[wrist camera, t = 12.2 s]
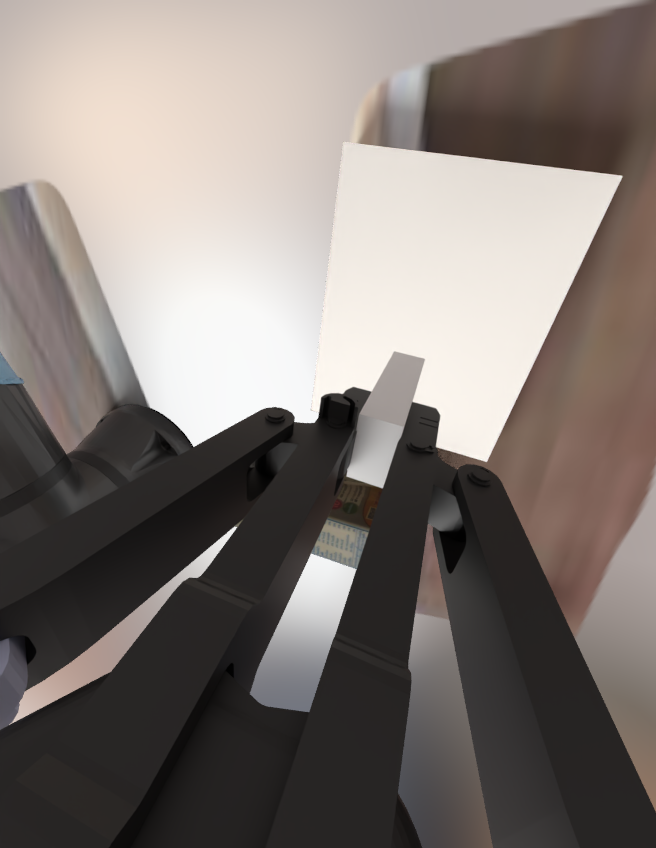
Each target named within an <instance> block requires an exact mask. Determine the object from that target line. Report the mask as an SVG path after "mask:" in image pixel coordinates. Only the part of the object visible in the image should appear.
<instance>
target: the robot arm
mask: <svg viewBox="0 0 656 848" xmlns="http://www.w3.org/2000/svg"><path fill="white" fill-rule="evenodd" d="M424 361H425V359H424V358H420V357H416V356H412V355H407V354H403V353H399V352H395V351H394V352H393V354H392V356H391V358H390V360H389V361H388V363H387V365H386V367H385V369H384V370H383V372H382V374H381V376H380V378H379V379H378V381H377V383H376V385H375V387H374V388H373V390H372V392H371V391H367V390H364V389H360V388H356V387H352V388H350V389H347V390H345V392H344V393H343V394H340V393H329V394H325V395H324V396H322V397H321V402H320V410H319V417H318V419H317V420H316V422H315V423H297V422H294V416H293V414H292V413H291V412H289V411H288V410H285V409H282V408H277V407H273V408H266V409H263V410H260V411H259V412H257V413H255V414H253V415H251V416H250V417H248V418H246V419H244V420H242V421H241V422H239V423H237V424H235V425H233V426H231V427H229V428H228V429H226V430H224V431H222V432H220V433H219V434H217V435H215V436H213V437H211V438H210V439H208V440H206V441H204V442H202V443H201V444H199V445H197V446H195V447H193V445H192V444H191V442H190V440H189V439H188V438H187V436H186V435H185V434H184V433H183V431H182V430H181V429H180V428H179V427H178V426H177V425H176V424H175V423H174V422H172V421H171V420H170V419H169V418H167V417H166V416H165V415H163V414H161V413H160V412H158V411H156V410H154V409H152V408H150V409H149V408H146V407H143V406H139V405H124V406H120V407H118V408H116V409H115V410H113V411H111V412H109V413H107V414H106V415H105V416H103V417H102V418H101V420H100V421H99V422H98V423H97V425H96V428H95V429H94V430H93V431H92V432H91V433H90V434H89V435H88V436H87V437H86V438H85V439H84V440H83V441H82V442H81V443H80V444H79V445H78V446H77V448H76V449H75V450H73V451H71V452H70V453H68V454H67V455H66V453H65V451H64V450H63V448H62V447H61V445H60V444H59V442H58V441H57V439H56V437H55V436H54V434H53V433H52V431H51V429H50V428H49V426H48V425H47V423H46V421H45V420H44V418H43V417H42V415H41V413H40V412H39V410H38V408H37V407H36V405H35V404H34V402H33V400H32V399H31V397H30V396H29V394H28V392H27V391H26V389H25V388H24V386H23V384H24V381H23V379H21V378H19V377H17V375H16V374H15V372H14V371H13V369H12V368H11V367H10V365H9V364H8V362H7V361H6V360H5V358H4V357H3V356H2V354H1V352H0V848H422V846H421V843H420V840H419V837H418V834H417V832H416V829H415V827H414V824H413V822H412V820H411V818H410V815H409V813H408V811H407V809H406V807H405V805H404V803H403V802H402V799H401V798H400V796H399V794H398V786H399V778H400V771H401V763H402V755H403V747H404V739H405V731H406V724H407V716H408V708H409V699H410V691H411V672H410V671H409V669H408V659H409V652H410V645H411V638H412V631H413V624H414V617H415V610H416V603H417V596H418V589H419V582H420V575H421V568H422V560H423V553H424V546H425V539H426V532H427V525H428V524H430V525H431V526H433V537H434V542H435V547H436V552H437V557H438V563H439V568H440V573H441V578H442V584H443V589H444V594H445V599H446V604H447V610H448V615H449V620H450V625H451V630H452V636H453V641H454V646H455V651H456V656H457V662H458V667H459V672H460V677H461V683H462V688H463V693H464V698H465V704H466V709H467V713H468V719H469V724H470V730H471V734H472V740H473V745H474V750H475V756H476V761H477V766H478V771H479V777H480V782H481V787H482V792H483V797H484V803H485V808H486V813H487V818H488V824H489V828H490V834H491V839H492V844H493V848H656V812H655V810H654V807H653V805H652V803H651V801H650V799H649V797H648V795H647V793H646V790H645V788H644V786H643V784H642V782H641V780H640V778H639V775H638V773H637V771H636V769H635V767H634V765H633V763H632V761H631V758H630V756H629V754H628V752H627V750H626V748H625V745H624V743H623V741H622V739H621V737H620V735H619V733H618V730H617V728H616V726H615V724H614V722H613V720H612V718H611V715H610V713H609V711H608V709H607V707H606V705H605V703H604V700H603V698H602V696H601V694H600V692H599V690H598V688H597V685H596V683H595V681H594V679H593V677H592V675H591V673H590V671H589V668H588V666H587V664H586V662H585V660H584V658H583V656H582V653H581V651H580V649H579V647H578V645H577V643H576V641H575V638H574V636H573V634H572V632H571V630H570V628H569V626H568V623H567V621H566V619H565V617H564V615H563V613H562V611H561V608H560V606H559V604H558V602H557V600H556V598H555V596H554V594H553V591H552V589H551V587H550V585H549V583H548V581H547V579H546V576H545V574H544V572H543V570H542V568H541V566H540V564H539V561H538V559H537V557H536V555H535V553H534V551H533V549H532V546H531V544H530V542H529V540H528V538H527V536H526V534H525V531H524V529H523V527H522V525H521V523H520V521H519V519H518V517H517V514H516V512H515V510H514V508H513V506H512V504H511V502H510V499H509V497H508V495H507V493H506V491H505V489H504V487H503V484H502V482H501V481H500V479H499V478H498V477H497V476H496V475H495V474H494V473H493V472H491V471H490V470H488V469H486V468H484V467H481V466H477V465H471V464H466V465H463V466H461V467H460V468H459V469H458V470H457V469H455V468H453V467H451V466H449V465H448V464H446V463H445V462H443V461H442V460H441V459H440V458H439V457H438V452H437V448H436V442H437V436H438V428H439V422H440V414H439V412H438V410H437V409H436V408H434V407H430V406H426V405H422V404H419V403H415V402H413V399H414V395H415V392H416V388H417V385H418V382H419V378H420V375H421V371H422V368H423V365H424ZM347 469H348V471H347ZM346 471H347V476H346V477H350V478H353V479H356V480H359V481H362V482H365V483H368V484H371V485H374V486H377V487H380V488H383V490H382V493H381V496H380V499H379V502H378V505H377V508H376V511H375V514H374V517H373V520H372V524H371V527H370V530H369V533H368V536H367V539H366V542H365V545H364V548H363V551H362V554H361V558H360V561H359V564H358V567H357V570H356V573H355V576H354V579H353V583H352V585H351V589H350V592H349V595H348V598H347V601H346V604H345V607H344V610H343V613H342V616H341V619H340V623H339V626H338V629H337V632H336V635H335V637H334V639H333V642H332V645H331V648H330V651H329V654H328V657H327V660H326V663H325V666H324V669H323V672H322V675H321V678H320V681H319V684H318V687H317V691H316V694H315V697H314V700H313V703H312V706H311V709H310V712H302V711H295V710H288V709H280V708H273V707H267V706H264V705H262V704H260V703H259V702H257V701H256V700H255V699H254V698H253V697H252V696H251V695H250V691H251V688H252V685H253V682H254V678H255V675H256V672H257V669H258V667H259V664H260V662H261V660H262V658H263V655H264V653H265V651H266V649H267V647H268V644H269V642H270V640H271V638H272V636H273V634H274V632H275V629H276V627H277V625H278V623H279V621H280V619H281V617H282V615H283V612H284V610H285V608H286V606H287V604H288V602H289V600H290V597H291V595H292V593H293V591H294V589H295V587H296V585H297V582H298V580H299V578H300V576H301V574H302V572H303V570H304V567H305V565H306V563H307V561H308V559H309V556H310V554H311V552H312V550H313V548H314V546H315V544H316V542H317V539H318V537H319V535H320V533H321V531H322V529H323V527H324V524H325V522H326V520H327V518H328V516H329V514H330V512H331V509H332V507H333V505H334V503H335V501H336V499H337V496H338V494H339V492H340V490H341V488H342V486H343V481H344V476H345V473H346ZM241 520H243V521H242V522H241V523H240V525H239V526H238V527H237V529H236V530H235V532H234V533H233V534H232V536H231V537H230V538H229V540H228V541H227V542H226V544H225V545H224V546H223V548H222V549H221V550H220V552H219V553H218V554H217V556H216V557H215V559H214V560H213V561H212V563H211V564H210V565H209V567H208V568H207V569H206V571H205V572H204V573H203V574H202V575H201V576H200V577H199V578H188V579H187V580H185V581H183V582H182V583H181V584H180V586H179V587H178V588H177V589H176V590H175V591H174V592H173V593H172V595H171V596H170V597H169V599H168V600H167V601H166V603H165V604H164V605H163V606H162V607H161V609H160V610H159V611H158V613H157V614H156V615H155V617H154V618H153V619H152V620H151V622H150V623H149V624H148V625H147V627H146V628H145V629H144V631H143V632H142V633H141V634H140V636H139V637H138V638H137V639H136V641H135V642H134V643H133V645H132V646H131V647H130V648H129V650H128V651H127V653H126V654H125V655H124V656H123V657H122V659H121V660H120V661H119V663H118V664H117V665H116V666H115V668H114V669H113V670H112V672H110V673H108V674H106V675H104V676H102V677H100V678H98V679H96V680H94V681H92V682H90V683H89V684H87V685H85V686H83V687H81V688H79V689H77V690H75V691H73V692H71V693H70V694H68V695H66V696H64V697H62V698H60V699H58V700H56V701H54V702H52V703H50V704H49V705H47V706H45V707H43V708H41V709H39V710H37V711H35V712H33V713H31V714H29V715H28V716H26V717H24V718H22V719H20V720H18V721H16V722H14V723H12V724H10V723H11V722H12V721H13V720H14V718H15V716H16V715H17V713H18V709H19V702H20V700H21V699H22V697H23V694H24V692H25V691H26V690H28V689H30V688H31V687H33V686H35V685H37V684H38V683H40V682H42V681H43V680H45V679H46V678H48V677H49V676H51V675H52V674H54V673H55V672H57V671H58V670H60V669H61V668H63V667H64V666H66V665H67V664H69V663H70V662H72V661H73V660H74V659H75V658H77V657H78V656H79V655H81V654H82V653H83V652H85V651H86V650H87V649H88V648H90V647H91V646H92V645H93V644H95V643H96V642H97V641H98V640H100V638H102V637H103V636H104V635H106V634H107V633H108V632H109V631H110V630H112V629H113V628H114V627H115V626H116V625H117V624H119V623H120V622H121V621H122V620H123V619H125V618H126V617H127V616H128V615H129V614H131V613H132V612H133V611H134V610H135V609H136V608H138V607H139V606H140V605H141V604H143V603H144V602H145V601H146V600H147V599H148V598H150V597H151V596H152V595H153V594H154V593H156V592H157V591H158V590H159V589H160V588H161V587H163V586H164V585H165V584H166V583H168V582H169V581H170V580H171V579H172V578H173V577H175V576H176V575H177V574H178V573H179V572H181V571H182V570H183V569H184V568H185V567H186V566H188V565H189V564H190V563H191V562H192V561H194V560H195V559H196V558H197V557H198V556H200V555H201V554H202V553H203V552H204V551H206V550H207V549H208V548H209V547H210V546H211V545H213V544H214V543H215V542H216V541H218V540H219V539H220V538H221V537H222V536H223V535H225V534H226V533H227V532H228V531H229V530H230V529H232V528H233V527H234V526H235V525H237V524H238V523H239V522H240V521H241ZM9 724H10V725H9Z"/></svg>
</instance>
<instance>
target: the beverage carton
mask: <svg viewBox="0 0 656 848" xmlns="http://www.w3.org/2000/svg"><path fill="white" fill-rule="evenodd" d="M347 471H348V470H347ZM347 471H346V473H345V476H344V481H343V486H342V488H341V490H340V492H339V494H338V496H337V499H336V501H335V503H334V505H333V507H332V509H331V512H330V514H329V516H328V518H327V520H326V522H325V524H324V527H323V529H322V531H321V533H320V535H319V537H318V539H317V542H316V544H315V546H314V548H313V550H312V552H311V553H312V554H314V555H317V556H320V557H323V558H327V559H330V560H332V561H335V562H338V563H341V564H344V565H346V566H349V567H353V568H355V569H357V567H358V564H359V561H360V558H361V554H362V551H363V548H364V545H365V542H366V539H367V536H368V533H369V530H370V527H371V524H372V520H373V517H374V514H375V511H376V508H377V505H378V502H379V499H380V496H381V493H382V490H383V488H380V487H377V486H374V485H371V484H368V483H365V482H362V481H359V480H356V479H353V478H350V477H346V476H347ZM242 521H243V520H241V521H240V522H239V523H238V524H237V525H235V527H238V526H239V525H240V523H241V522H242Z"/></svg>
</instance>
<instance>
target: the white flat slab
mask: <svg viewBox="0 0 656 848" xmlns="http://www.w3.org/2000/svg"><path fill="white" fill-rule="evenodd" d="M622 177H623V176H620V175H612V174H604V173H595V172H587V171H579V170H571V169H563V168H554V167H546V166H538V165H530V164H521V163H513V162H505V161H497V160H489V159H480V158H472V157H464V156H456V155H447V154H439V153H431V152H423V151H415V150H406V149H398V148H390V147H382V146H374V145H365V144H357V143H349V142H343V148H342V158H341V166H340V173H339V182H338V190H337V198H336V207H335V215H334V224H333V231H332V232H333V233H332V240H331V248H330V257H329V265H328V273H327V281H326V290H325V298H324V306H323V315H322V324H321V332H320V340H319V348H318V356H317V364H316V373H315V382H314V390H313V398H312V406H311V410H312V411H315V412H318V413H319V410H320V402H321V397H322V396H324V395H325V394H329V393H340V394H343V393H344V392H345V390H347V389H350V388H352V387H356V388H360V389H364V390H367V391H371V392H372V390H373V388H374V387H375V385H376V383H377V381H378V379H379V378H380V376H381V374H382V372H383V370H384V369H385V367H386V365H387V363H388V361H389V360H390V358H391V356H392V354H393V352H394V351H395V352H399V353H403V354H407V355H412V356H416V357H420V358H424V359H425V361H424V365H423V368H422V371H421V375H420V378H419V382H418V385H417V388H416V392H415V395H414V399H413V402H415V403H419V404H422V405H426V406H430V407H434V408H436V409H437V410H438V412H439V414H440V422H439V428H438V436H437V442H436V447H438V448H441V449H445V450H448V451H451V452H455V453H458V454H462V455H465V456H468V457H472V458H475V459H479V460H482V461H485V462H487V460H488V458H489V456H490V454H491V452H492V450H493V448H494V446H495V444H496V441H497V439H498V437H499V435H500V433H501V431H502V429H503V427H504V425H505V422H506V420H507V418H508V416H509V414H510V412H511V410H512V408H513V406H514V404H515V401H516V399H517V397H518V395H519V393H520V391H521V389H522V387H523V385H524V383H525V380H526V378H527V376H528V374H529V372H530V370H531V368H532V366H533V364H534V362H535V359H536V357H537V355H538V353H539V351H540V349H541V347H542V345H543V343H544V341H545V338H546V336H547V334H548V332H549V330H550V328H551V326H552V324H553V322H554V319H555V317H556V315H557V313H558V311H559V309H560V307H561V305H562V303H563V301H564V298H565V296H566V294H567V292H568V290H569V288H570V286H571V284H572V282H573V280H574V277H575V275H576V273H577V271H578V269H579V267H580V265H581V263H582V261H583V259H584V256H585V254H586V252H587V250H588V248H589V246H590V244H591V242H592V240H593V237H594V235H595V233H596V231H597V229H598V227H599V225H600V223H601V221H602V219H603V216H604V214H605V212H606V210H607V208H608V206H609V204H610V202H611V200H612V198H613V195H614V193H615V191H616V189H617V187H618V185H619V183H620V181H621V179H622Z"/></svg>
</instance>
